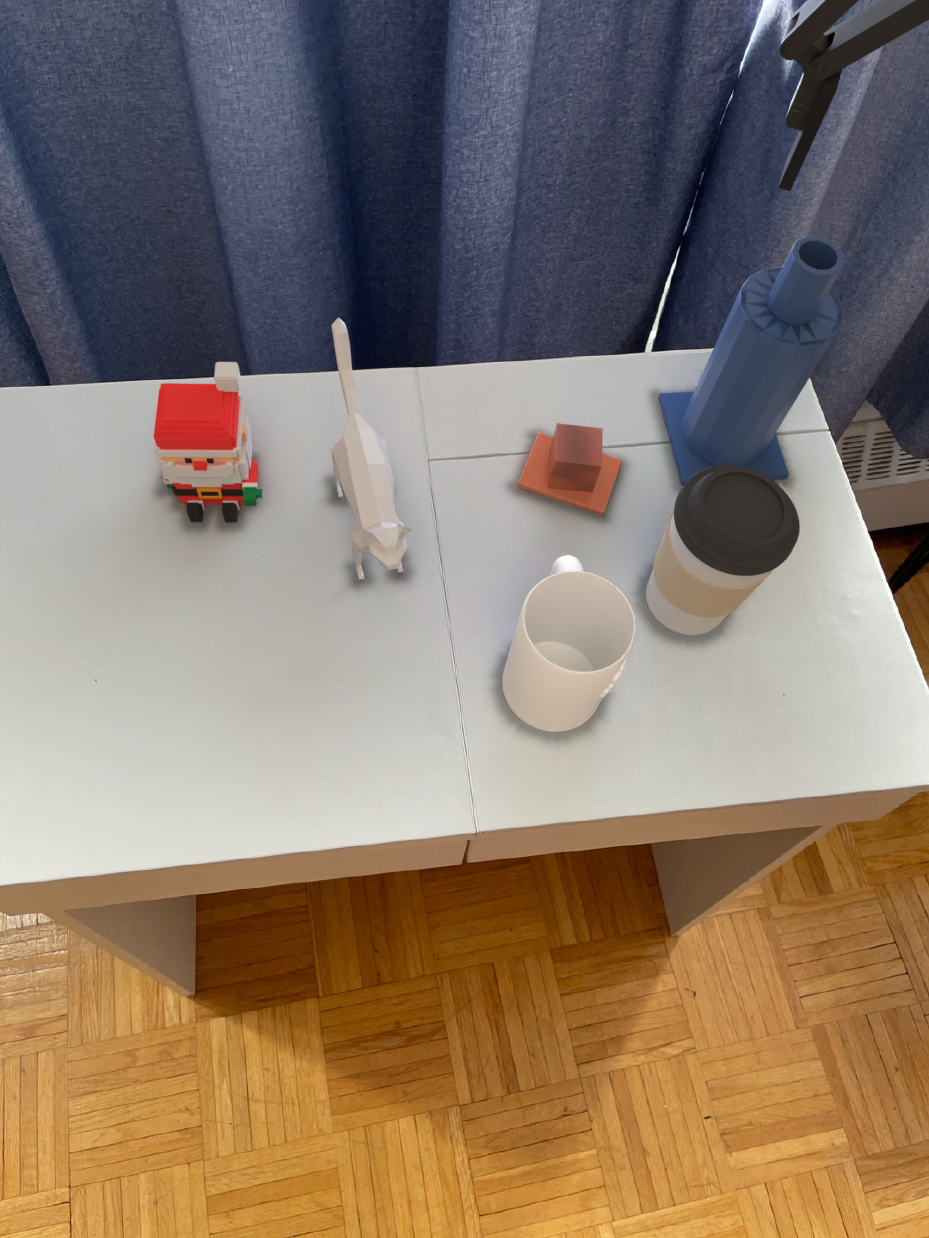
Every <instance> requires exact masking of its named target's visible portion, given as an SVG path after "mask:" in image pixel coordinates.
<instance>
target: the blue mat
mask: <svg viewBox="0 0 929 1238" xmlns="http://www.w3.org/2000/svg"><path fill="white" fill-rule="evenodd" d="M693 393H694V391H679V392H677V391H675V392H660V393H659V395H658V400H659V404H660V408H661V411H662V415H663V418H664V423H665V426H666V431H667V434H668V438H669V442H670V446H671V451H672V453H673V457H674V462H675V465H676V469H677V474H678V476H679V480H680V484H681V486H684V485H685V483H686V482H687V481H688V480H689V478H691V477H692V476H693V475H694V474H696V473H697V472H699V471H701V470H703V469H705V468H708V467H712V466H714V465H712V464H709V463H707V462H705V461H704V460H702V459H700V458H699V457H698V456H697V455H695V454H694V453H693V452H692V451H691V449H690V448H689V447H688V445H687V444H686V442H685V440H684V437H683V434H682V420H683V417H684V413H685V411H686V408H687V406H688V404H689V402H690V400H691V397H692V395H693ZM745 468H749V469H752V470H755V471H758V472H760V473H762V474H764V475H766V476H768V477H769V478H771V479H772V480H773V481H775V480H787V479H788V478H789V476H790V473H789V470H788V467H787V464H786V461H785V458H784V454H783V451H782V448H781V445H780V442H779V439H778V436H777V432H776V433H775V435H774V437H773V438H772V440H771V441H770V443H769V445H768V446H767V448H766V450H765V451H764V453H763V454H762V456H761V457H760V458H759V459H758V460H757V461H755V462H754V463H752V464H750V465H748V466H745Z"/></svg>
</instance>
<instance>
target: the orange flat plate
mask: <svg viewBox="0 0 929 1238" xmlns="http://www.w3.org/2000/svg"><path fill="white" fill-rule="evenodd" d="M552 439H553V436H551V435H549V434H545V433H542V432H539V431H538V432H537V434H536V437H535V439H534V441H533V443H532V446H531V449H530V452H529V454H528V457H527V459H526V462H525V464H524V467H523V469H522V471H521V474H520V477H519V480H518V482H517V487H518V488H520V489H523V490H526V491H530V492H532V493H535V494H538V495H541V496H544V497H546V498H550V499H553V500H556V501H559V502H561V503H564V504H568V505H570V506H573V507H576V508H580V509H582V510H585V511H589V512H591V513H593V514H597V515H600V516H605V512H606V509H607V506H608V503H609V501H610V499H611V495H612V492H613V489H614V486H615V483H616V480H617V477H618V474H619V471H620V468H621V465H622V463H623V459H621V458H618V457H615V456H611V455H609V454H606V453H603V452H602V467H601V470H600V473H599V476H598V478H597V481H596V484H595V487H594V490H593V492H586V491H577V490H568V489H559V488H550V487H548V472H549V452H550V447H551V443H552Z"/></svg>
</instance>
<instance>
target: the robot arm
mask: <svg viewBox="0 0 929 1238" xmlns="http://www.w3.org/2000/svg"><path fill="white" fill-rule="evenodd" d="M859 1H860V0H805V2H804V3H803V4H802V5H801V6H800V7H799V8H798V9H797V10H796V11H794V13H793V14H792V15H791V16H790V18H789V19H788V22H787V25H786V27H785V30H784V34H783V37H782V40H781V42H780V46H779V54H780V56H781V57H782V59H784V60H786V61H795V62H796V63H797V64H798V65H800V67H801V69H802V75H801V77H800V80H799V81H798V84H797V86H796V89H795V92H794V94H793V96H792V98H791V101H790V103H789V107H788V110H787V112H786V115H785V116H786V117H785V127H787V128H788V129H789V128H790V129H794V130H797V131H798V132H797V135H796V137H795V140H794V141H793V144H792V146H791V148H790V150H789V153H788V156H787V157H786V160H785V163H784V167H783V170H782V174H781V176H780V180H779V184H778V189H780V190H782V191H783V190H784V191H786V192H791V191H792V188H793V187H794V184H795V182H796V180H797V177H798V176H799V174H800V171H801V169H802V167H803V165H804V162H805V160H806V158H807V156H808V153H809V152H810V150H811V147H812V145H813V143H814V141H815V138H816V136H817V135H818V132H819V130H820V128H821V126H822V123H823V122H824V119H825V118H826V117H825V116H826V114H827V113H828V111H829V108H830V106H831V104H832V102H833V99H834V97H835V95H836V93H837V90H838V87H839V83H840V79H841V76H842V73H843V69H845V68H847V67H849V66H850V65H852V64H854V63H856V62H857V61H860V60H861V59H862V58H864V57H867V56H868V55H870V54H871V53H873V52H875V51H876V50H878V49H880V48H882V47H883V46H885V45H887V44H889V43H891V42H893V41H894V40H897V39H898V38H900V37H901V36H903V35H905V34H907V33H908V32H910V31H912V30H914V29H915V28H918V27H919V26H922V24H924V23H926V22H927V21H929V0H877V1H874V2H873V3H871V4H870V5H869V6H866V7H865V8H863V9H862V10H860V11H858V12H857V13H855V14H854V15H852V16H851V17H848V18H847V19H845V20H844V21H842V22H841V23H838V24H837V25H835V23H837V22H838V21H839V20H840V19H841V18H842V17H844V15H845V14H846V13H847V12H848V11H849V10H850V9H852V8H853V6H855V5H856V4H857V3H858V2H859ZM834 25H835V26H834ZM832 26H834V27H832ZM831 27H832V28H831Z"/></svg>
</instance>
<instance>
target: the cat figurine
mask: <svg viewBox="0 0 929 1238" xmlns="http://www.w3.org/2000/svg"><path fill="white" fill-rule="evenodd" d="M331 332H332V338H333V346H334V351H335V358H336V359H335V360H336V366H337V370H338V375H339V376H338V377H339V381H340V387H341V391H342V392H341V393H342V395H343V399H344V404H345V407H346V411H347V415H348V416H347V419H346V422H345V425H344V428H343V431H342V432H341V434H340V435H339V437H338V438H337V440H336V442H335V443H334V445H333V446H332V448H331V449H330V452H331V457H332V458H331V461H332V466H333V474H334V482H335V487H336V492H337V497H338V498H343V497H344V495H345V497H346V499H347V501H348V504H349V506H350V509H351V511H352V513H353V515H354V518H355V524H354V527H353V532H352V534H351V553H352V555H353V560H354V562H355V568H356V573H357V577H358V578H357V579H358V581H361V580H365V574H364V571H363V567H362V566H363V565H362V560H363V554H364V552H365V551H370V554H371V555H372V556H373V557H374V558H375V559H376V560H377V561H378V562H379V563H380V564H381V565H382V566H383V567H384V568H385V569H386V570H388V571H390V570H397V573H399V574H400V573H404V568H403V564H402V560H403V557H404V555H405V553H406V551H407V548H408V545H407V541H406V536H407V535H408V534H409V533H411V532H412V531H413V529H411V528H409V527H406V525H405V524H404V523H403V521H402V520H401V518H400V517H399V516H398V514H397V511H396V496H395V495H396V493H395V477H394V473H393V470H392V466H391V464H390V461H389V457H388V447H387V441H386V440H385V439H384V438H383V437H382V436H381V435H380V433H378V432H377V431H375V430H374V428H373V427H372V426H371V425H370V423H369V422H368V421H367V420H366V418H364V416H363V415H362V414H361V412H360V408H359V401H358V396H357V390H356V389H357V388H356V384H355V383H356V382H355V379H354V374H353V366H352V365H353V364H352V353H351V343H350V338H349V337H350V336H349V332H348V328H347V325H346V323H345V322H344V321H343V320H342V319H341V318H340V317H337V319H335V320H334V321H333V323H332V324H331ZM342 489H343V492H344V494H343V492H342Z"/></svg>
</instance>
